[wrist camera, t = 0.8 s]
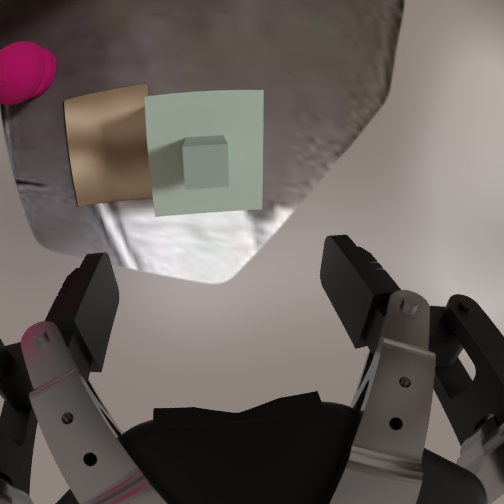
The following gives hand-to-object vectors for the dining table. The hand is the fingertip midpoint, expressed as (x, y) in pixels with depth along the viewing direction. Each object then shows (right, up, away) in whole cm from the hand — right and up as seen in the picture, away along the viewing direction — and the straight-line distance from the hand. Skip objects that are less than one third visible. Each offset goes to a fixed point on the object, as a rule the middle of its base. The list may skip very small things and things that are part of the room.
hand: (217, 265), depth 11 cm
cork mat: (-15, +12, +18) cm, 26 cm away
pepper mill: (-24, +21, +11) cm, 34 cm away
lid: (-3, +10, +15) cm, 18 cm away
